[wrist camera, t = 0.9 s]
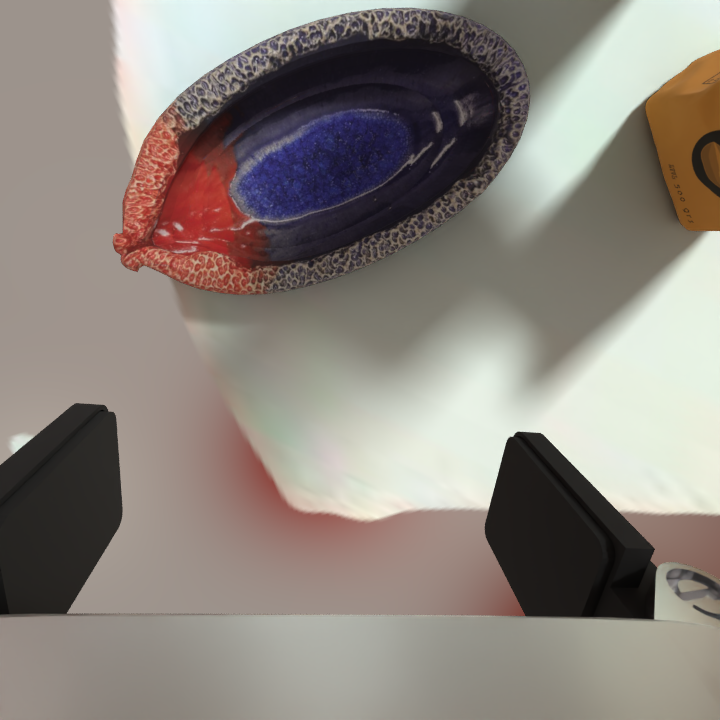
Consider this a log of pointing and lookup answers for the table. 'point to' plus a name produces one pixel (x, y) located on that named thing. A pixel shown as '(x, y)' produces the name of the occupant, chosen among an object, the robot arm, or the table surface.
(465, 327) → the table surface
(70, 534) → the robot arm
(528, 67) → the table surface
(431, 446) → the table surface
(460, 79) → the dish
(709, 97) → the coffee package
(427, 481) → the table surface
